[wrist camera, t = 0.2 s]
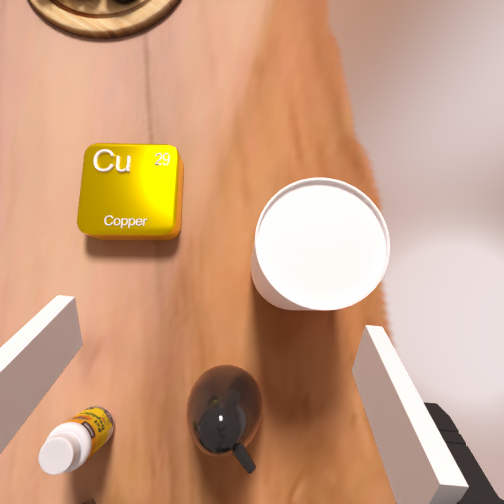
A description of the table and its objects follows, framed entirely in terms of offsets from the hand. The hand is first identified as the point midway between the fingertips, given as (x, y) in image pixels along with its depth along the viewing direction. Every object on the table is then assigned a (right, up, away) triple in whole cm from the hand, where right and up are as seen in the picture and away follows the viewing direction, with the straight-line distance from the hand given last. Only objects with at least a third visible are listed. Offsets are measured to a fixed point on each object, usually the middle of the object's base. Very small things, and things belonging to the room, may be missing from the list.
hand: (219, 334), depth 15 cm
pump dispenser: (-2, -18, +33) cm, 38 cm away
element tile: (-18, +13, +39) cm, 45 cm away
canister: (+8, +1, +37) cm, 38 cm away
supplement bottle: (-21, -21, +32) cm, 44 cm away
